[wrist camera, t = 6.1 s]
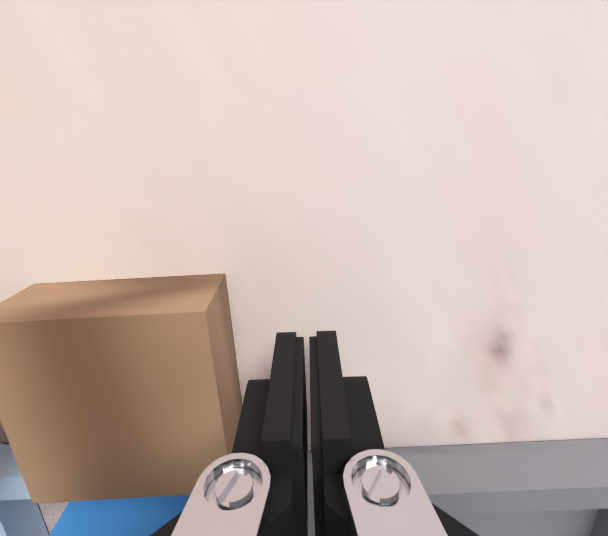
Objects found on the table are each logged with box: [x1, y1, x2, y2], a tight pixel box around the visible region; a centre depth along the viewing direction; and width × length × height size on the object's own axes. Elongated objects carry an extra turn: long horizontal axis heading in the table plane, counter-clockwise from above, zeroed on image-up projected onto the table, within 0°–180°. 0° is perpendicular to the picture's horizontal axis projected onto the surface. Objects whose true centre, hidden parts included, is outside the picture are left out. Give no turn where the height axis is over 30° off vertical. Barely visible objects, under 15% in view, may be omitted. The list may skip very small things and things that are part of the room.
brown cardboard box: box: [0, 274, 242, 503], centre depth 12 cm, size 6×6×3 cm
